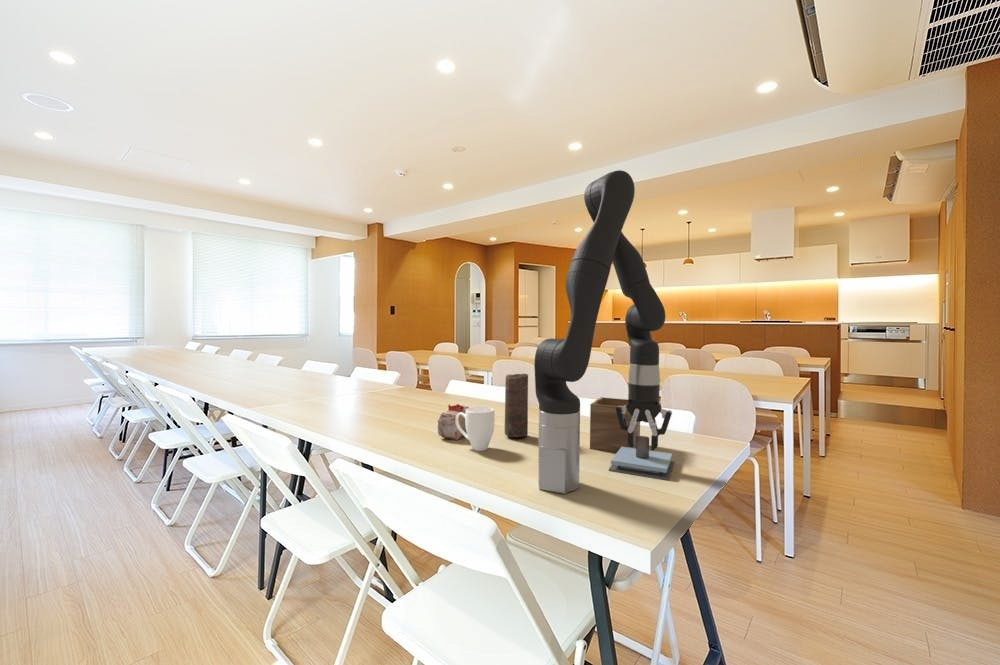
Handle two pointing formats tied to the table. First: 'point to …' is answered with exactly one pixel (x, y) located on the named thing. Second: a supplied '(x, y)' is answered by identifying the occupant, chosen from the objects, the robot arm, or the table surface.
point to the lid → (642, 457)
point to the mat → (642, 473)
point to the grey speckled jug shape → (452, 422)
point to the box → (609, 425)
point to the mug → (478, 426)
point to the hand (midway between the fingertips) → (642, 447)
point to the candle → (516, 405)
